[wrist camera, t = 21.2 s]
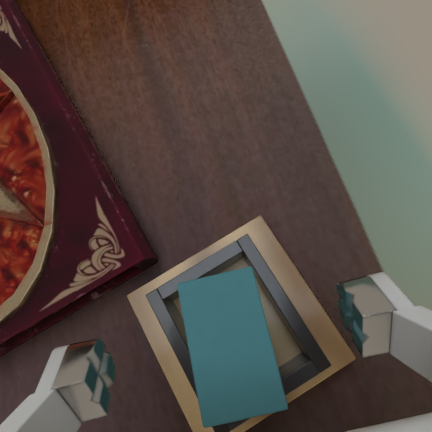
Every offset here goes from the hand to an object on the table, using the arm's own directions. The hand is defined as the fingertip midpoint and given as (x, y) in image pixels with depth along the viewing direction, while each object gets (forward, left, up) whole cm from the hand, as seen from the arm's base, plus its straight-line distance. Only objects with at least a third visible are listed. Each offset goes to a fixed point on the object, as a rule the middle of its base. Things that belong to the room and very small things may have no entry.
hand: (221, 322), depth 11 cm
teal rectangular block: (0, +1, -11) cm, 11 cm away
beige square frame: (0, +1, -12) cm, 12 cm away
